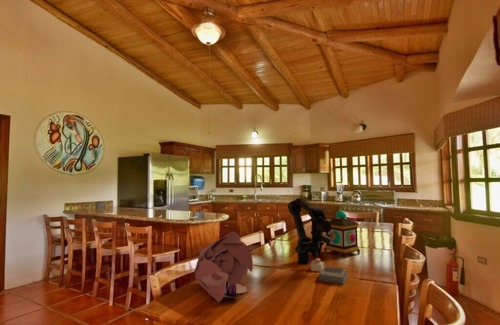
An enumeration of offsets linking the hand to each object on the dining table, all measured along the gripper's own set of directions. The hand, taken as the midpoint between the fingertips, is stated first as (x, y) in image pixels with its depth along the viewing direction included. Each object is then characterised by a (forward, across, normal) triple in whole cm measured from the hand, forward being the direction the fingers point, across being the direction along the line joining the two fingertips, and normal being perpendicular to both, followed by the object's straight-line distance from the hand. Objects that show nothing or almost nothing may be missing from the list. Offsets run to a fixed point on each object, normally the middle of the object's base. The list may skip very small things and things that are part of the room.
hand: (316, 257), depth 159 cm
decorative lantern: (+7, +43, -7) cm, 44 cm away
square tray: (+7, -12, -11) cm, 18 cm away
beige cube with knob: (+7, 0, 0) cm, 7 cm away
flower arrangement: (+7, -50, +31) cm, 59 cm away
